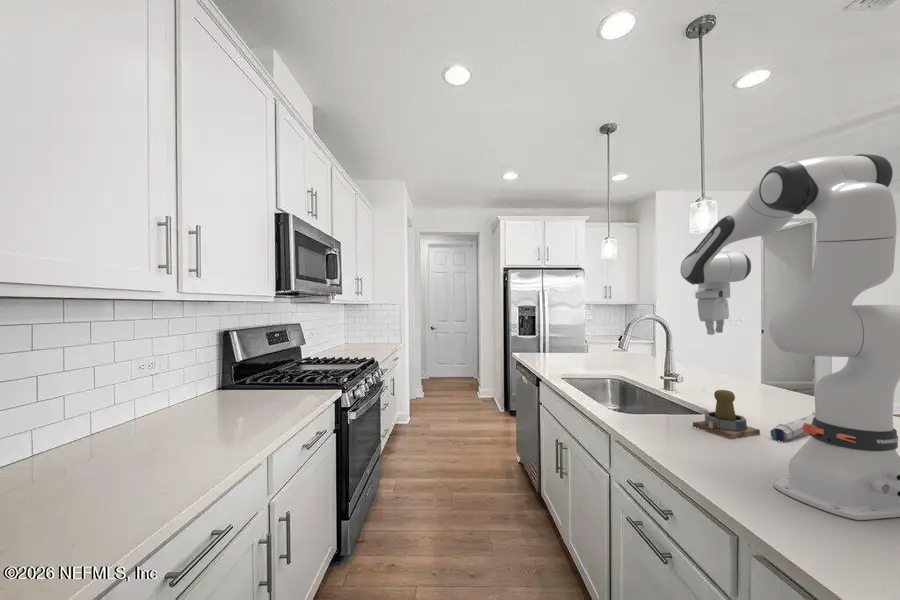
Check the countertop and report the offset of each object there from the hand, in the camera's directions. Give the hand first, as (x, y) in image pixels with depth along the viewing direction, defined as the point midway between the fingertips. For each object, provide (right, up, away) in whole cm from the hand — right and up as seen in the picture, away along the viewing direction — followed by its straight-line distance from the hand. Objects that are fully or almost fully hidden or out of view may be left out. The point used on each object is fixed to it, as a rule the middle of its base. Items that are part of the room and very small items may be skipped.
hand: (715, 333), depth 125 cm
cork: (-4, -28, -10) cm, 30 cm away
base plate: (-5, -29, -11) cm, 32 cm away
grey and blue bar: (+16, -29, -15) cm, 37 cm away
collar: (-5, -28, -11) cm, 30 cm away
